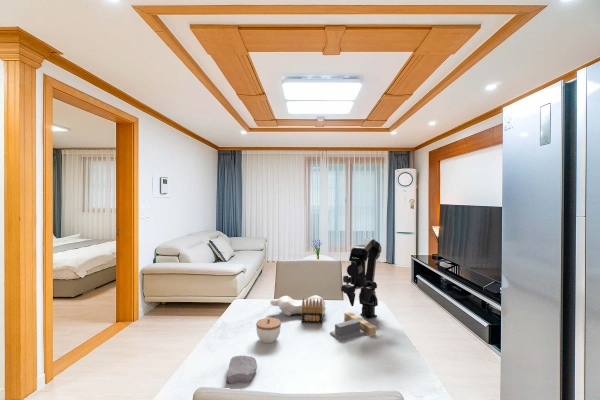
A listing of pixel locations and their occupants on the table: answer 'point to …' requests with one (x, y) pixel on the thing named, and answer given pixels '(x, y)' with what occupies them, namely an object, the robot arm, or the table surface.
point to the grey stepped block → (347, 330)
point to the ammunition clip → (312, 312)
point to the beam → (361, 323)
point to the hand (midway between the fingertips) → (359, 304)
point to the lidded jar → (268, 329)
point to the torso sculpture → (294, 304)
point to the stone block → (241, 369)
